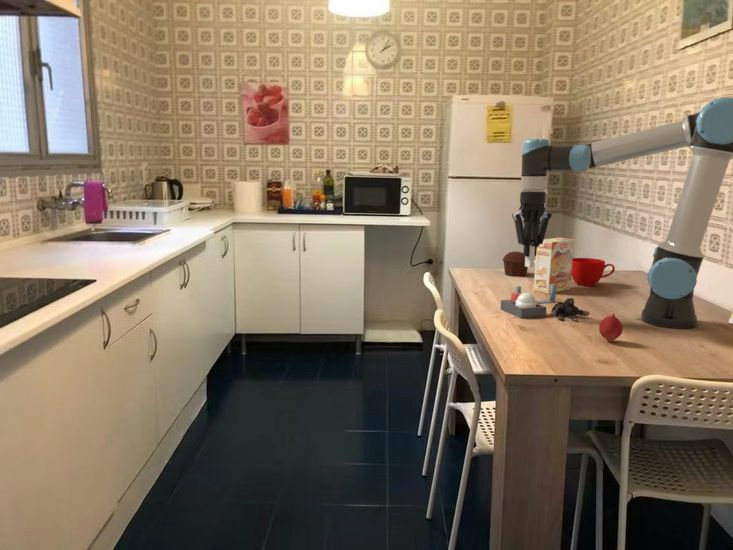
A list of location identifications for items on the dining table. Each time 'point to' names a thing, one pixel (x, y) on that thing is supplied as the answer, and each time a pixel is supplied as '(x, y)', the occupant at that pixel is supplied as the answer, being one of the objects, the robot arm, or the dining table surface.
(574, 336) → the dining table surface
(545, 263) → the coffeecake box
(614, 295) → the dining table surface
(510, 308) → the dome base
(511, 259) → the muffin
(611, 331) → the onion
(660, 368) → the dining table surface
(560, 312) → the stuffed animal
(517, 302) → the dome
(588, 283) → the ceramic cup
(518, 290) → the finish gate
